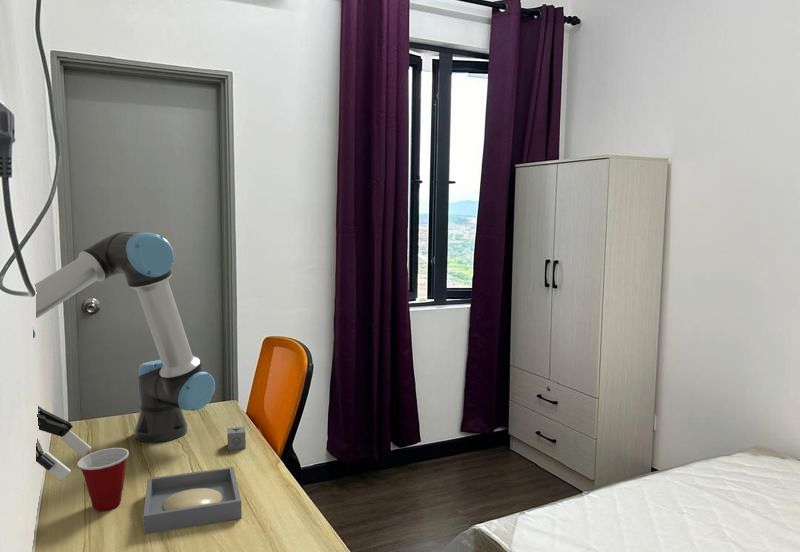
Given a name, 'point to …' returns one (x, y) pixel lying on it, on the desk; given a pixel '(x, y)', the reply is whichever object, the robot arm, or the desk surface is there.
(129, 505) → the desk surface
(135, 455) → the desk surface
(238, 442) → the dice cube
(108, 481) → the plastic cup
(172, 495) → the grey square tray
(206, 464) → the desk surface
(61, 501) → the desk surface
